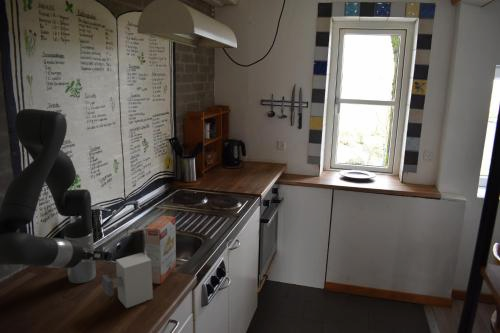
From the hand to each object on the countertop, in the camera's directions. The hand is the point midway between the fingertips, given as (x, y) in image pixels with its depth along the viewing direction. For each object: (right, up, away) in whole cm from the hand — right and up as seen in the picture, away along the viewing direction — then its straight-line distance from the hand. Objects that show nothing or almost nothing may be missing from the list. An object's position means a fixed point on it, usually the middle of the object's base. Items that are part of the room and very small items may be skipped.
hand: (98, 256), depth 115 cm
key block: (+8, -17, +12) cm, 22 cm away
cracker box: (+13, -13, +28) cm, 33 cm away
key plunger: (+3, -12, +7) cm, 14 cm away
